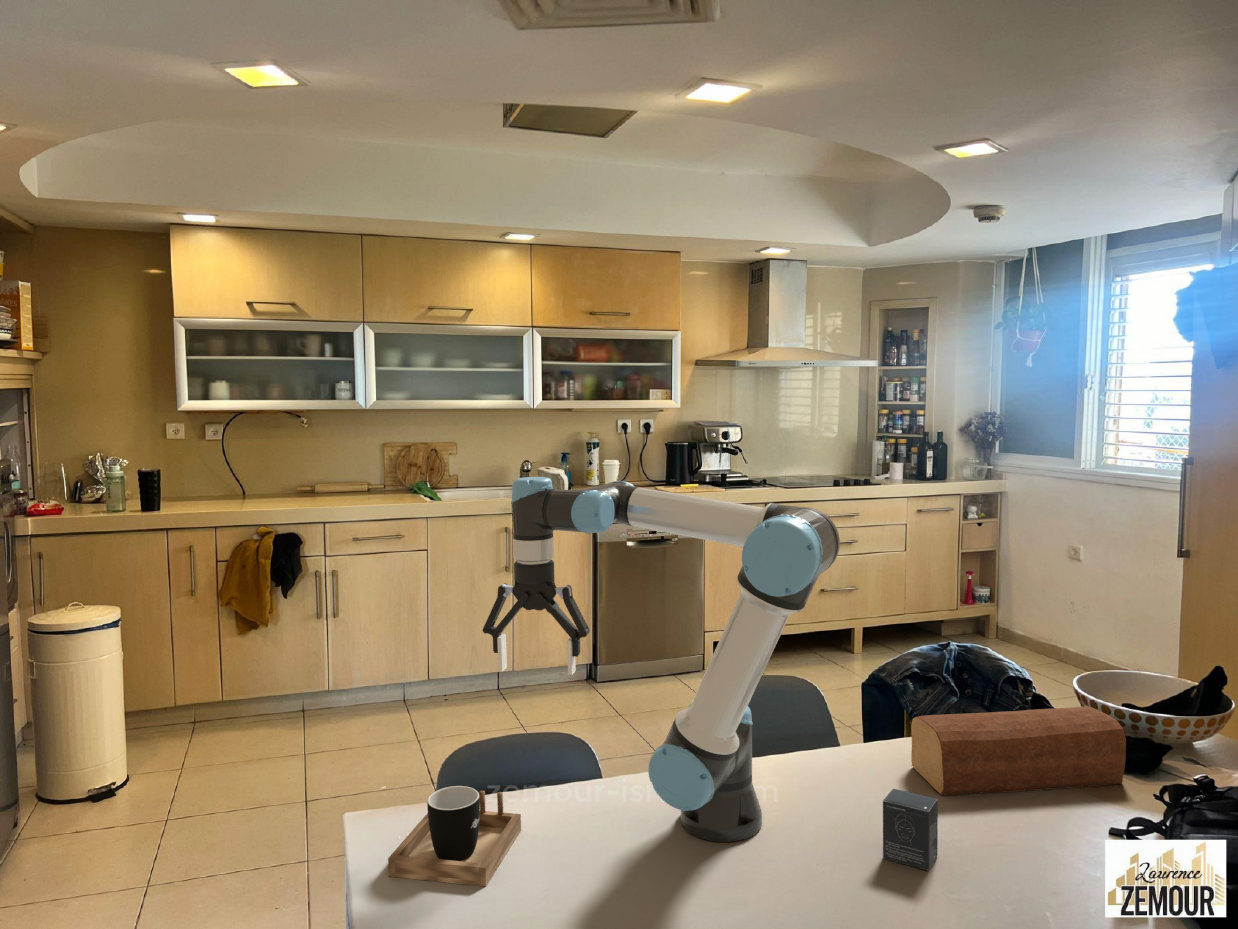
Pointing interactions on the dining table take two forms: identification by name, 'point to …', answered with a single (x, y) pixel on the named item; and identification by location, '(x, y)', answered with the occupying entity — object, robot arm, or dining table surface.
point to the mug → (454, 822)
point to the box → (910, 829)
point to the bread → (1018, 750)
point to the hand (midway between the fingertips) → (537, 671)
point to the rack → (478, 869)
